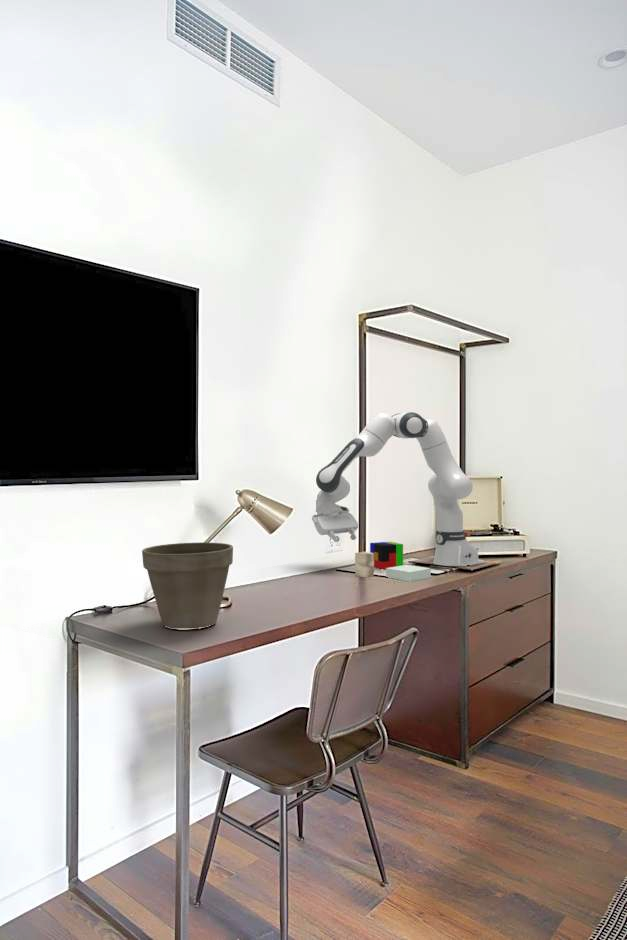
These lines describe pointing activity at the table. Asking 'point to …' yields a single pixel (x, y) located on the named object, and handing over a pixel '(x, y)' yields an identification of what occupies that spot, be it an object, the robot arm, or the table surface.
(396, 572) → the sage base block
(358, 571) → the maple block
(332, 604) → the table surface
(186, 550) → the plant pot
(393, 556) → the puzzle toy
